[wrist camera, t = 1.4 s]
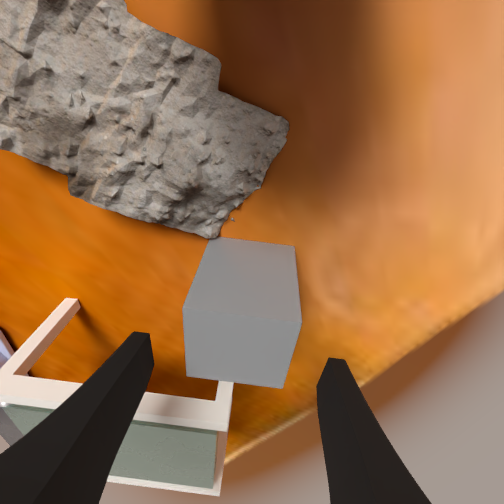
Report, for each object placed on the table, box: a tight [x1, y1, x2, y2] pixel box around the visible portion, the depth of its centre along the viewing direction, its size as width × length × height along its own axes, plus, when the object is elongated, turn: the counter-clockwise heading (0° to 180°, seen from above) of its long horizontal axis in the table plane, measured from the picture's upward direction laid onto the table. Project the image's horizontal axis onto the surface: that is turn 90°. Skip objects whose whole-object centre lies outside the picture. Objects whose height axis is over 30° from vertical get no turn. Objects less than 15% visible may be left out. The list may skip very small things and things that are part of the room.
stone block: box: [182, 237, 302, 389], centre depth 14 cm, size 5×5×6 cm
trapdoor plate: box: [0, 402, 219, 489], centre depth 17 cm, size 12×8×2 cm
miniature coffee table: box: [0, 298, 234, 496], centre depth 19 cm, size 12×11×6 cm
